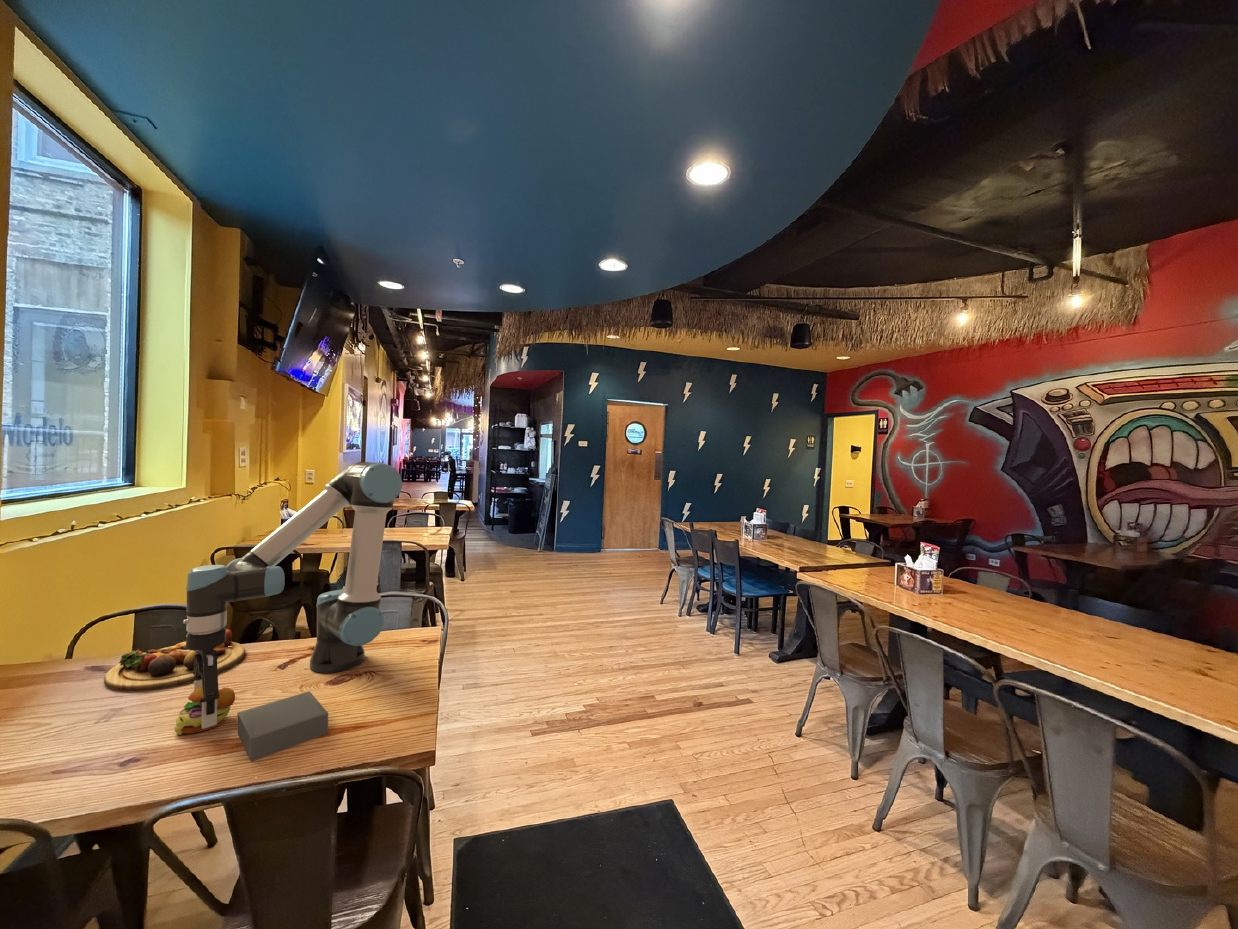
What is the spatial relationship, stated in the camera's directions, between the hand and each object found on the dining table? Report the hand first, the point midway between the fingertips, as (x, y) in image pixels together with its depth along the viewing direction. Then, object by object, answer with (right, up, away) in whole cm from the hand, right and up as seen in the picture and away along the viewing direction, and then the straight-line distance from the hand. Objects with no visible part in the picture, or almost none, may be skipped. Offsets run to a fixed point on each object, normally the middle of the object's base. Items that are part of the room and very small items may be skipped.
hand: (204, 715), depth 119 cm
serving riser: (+21, -3, -3) cm, 22 cm away
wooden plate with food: (-34, -1, +30) cm, 45 cm away
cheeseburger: (0, -2, 0) cm, 2 cm away
